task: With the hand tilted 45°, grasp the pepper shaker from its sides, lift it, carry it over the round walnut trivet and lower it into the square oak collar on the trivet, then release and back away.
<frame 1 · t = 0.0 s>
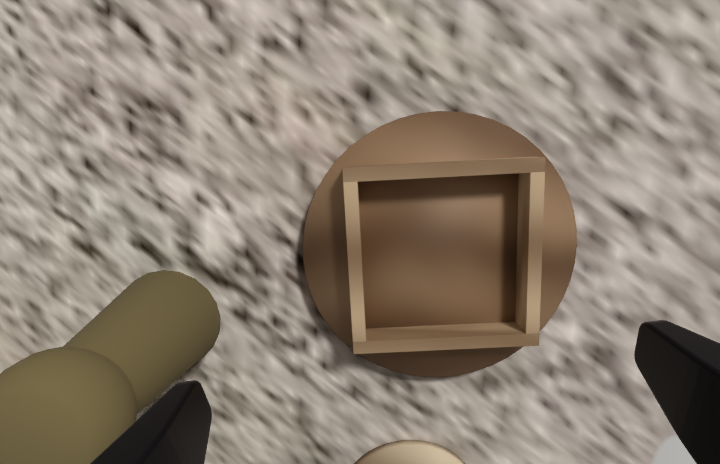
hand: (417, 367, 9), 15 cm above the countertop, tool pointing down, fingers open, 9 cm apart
pepper shaker: (171, 317, 25), on the countertop
trivet: (436, 248, 24), on the countertop
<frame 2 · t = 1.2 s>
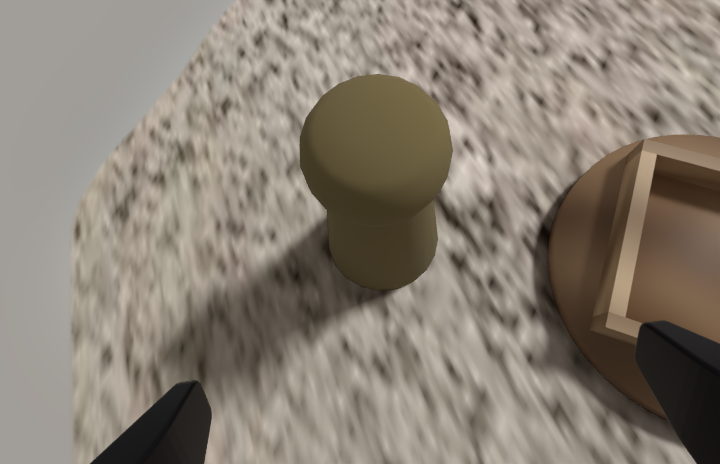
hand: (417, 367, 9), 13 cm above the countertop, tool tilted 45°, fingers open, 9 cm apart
pepper shaker: (382, 237, 23), on the countertop
trivet: (702, 274, 21), on the countertop
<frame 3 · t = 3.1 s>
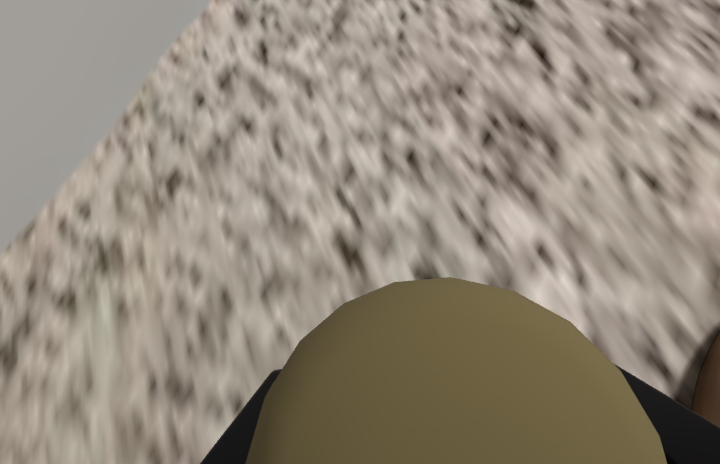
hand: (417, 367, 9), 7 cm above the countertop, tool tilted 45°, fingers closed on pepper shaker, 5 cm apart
pepper shaker: (413, 412, 14), on the countertop, touching gripper
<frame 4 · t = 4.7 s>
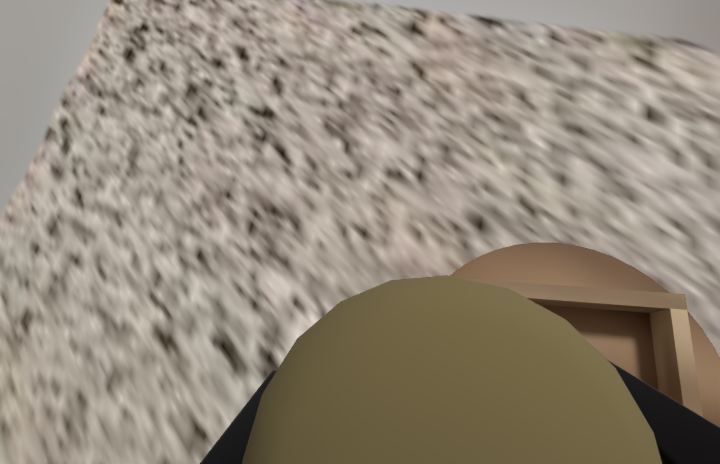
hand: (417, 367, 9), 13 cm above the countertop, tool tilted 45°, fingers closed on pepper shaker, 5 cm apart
pepper shaker: (410, 410, 15), point 6 cm above the countertop, touching gripper
trivet: (554, 397, 20), on the countertop
when the fingers open (9 cm above the countertop, at t = 6.5 s): pepper shaker drops 1 cm, resting on trivet.
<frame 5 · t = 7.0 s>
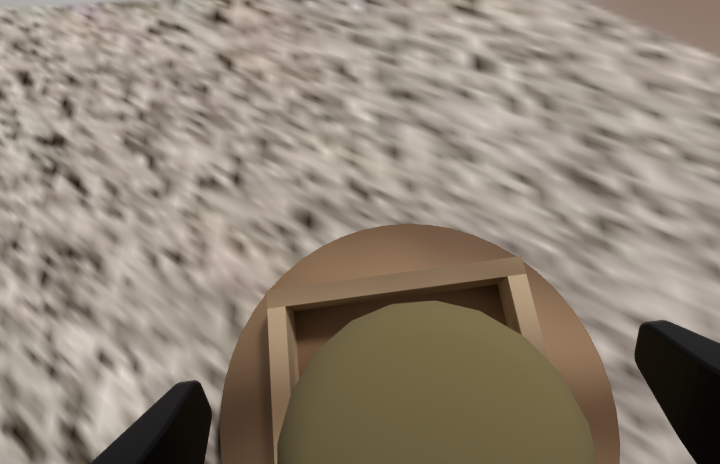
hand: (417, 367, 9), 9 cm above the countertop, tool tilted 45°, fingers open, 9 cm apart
pepper shaker: (411, 411, 16), point 1 cm above the countertop, touching trivet
trivet: (410, 406, 17), on the countertop
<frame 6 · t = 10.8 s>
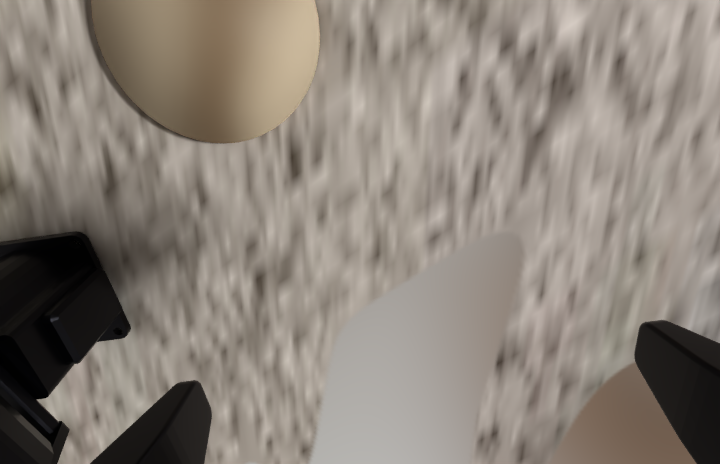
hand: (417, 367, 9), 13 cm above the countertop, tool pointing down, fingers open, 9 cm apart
cork coaster: (211, 33, 17), on the countertop
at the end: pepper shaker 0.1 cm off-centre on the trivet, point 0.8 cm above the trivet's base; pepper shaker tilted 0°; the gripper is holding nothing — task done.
